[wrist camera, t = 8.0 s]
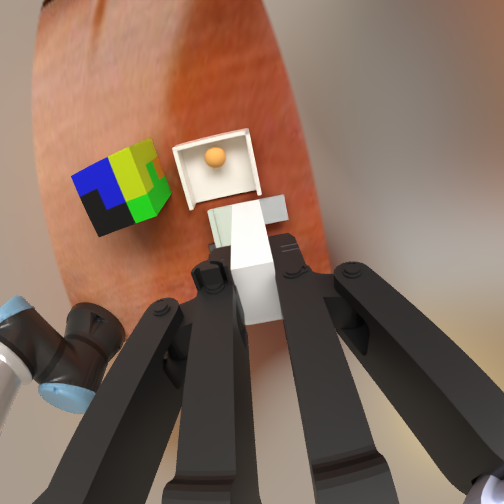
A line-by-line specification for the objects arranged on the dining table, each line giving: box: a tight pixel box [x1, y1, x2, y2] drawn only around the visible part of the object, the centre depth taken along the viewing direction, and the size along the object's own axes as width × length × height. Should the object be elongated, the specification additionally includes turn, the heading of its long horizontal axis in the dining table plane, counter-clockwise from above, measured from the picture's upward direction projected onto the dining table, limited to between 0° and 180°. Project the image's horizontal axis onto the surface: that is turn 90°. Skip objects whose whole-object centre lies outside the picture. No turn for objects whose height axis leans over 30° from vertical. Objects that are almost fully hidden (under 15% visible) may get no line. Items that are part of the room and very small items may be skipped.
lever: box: [208, 195, 288, 324], centre depth 46 cm, size 20×12×3 cm, turn 11°
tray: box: [172, 128, 262, 210], centre depth 41 cm, size 11×10×4 cm
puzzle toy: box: [71, 138, 172, 237], centre depth 38 cm, size 10×10×10 cm
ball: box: [204, 147, 226, 168], centre depth 40 cm, size 3×3×3 cm
